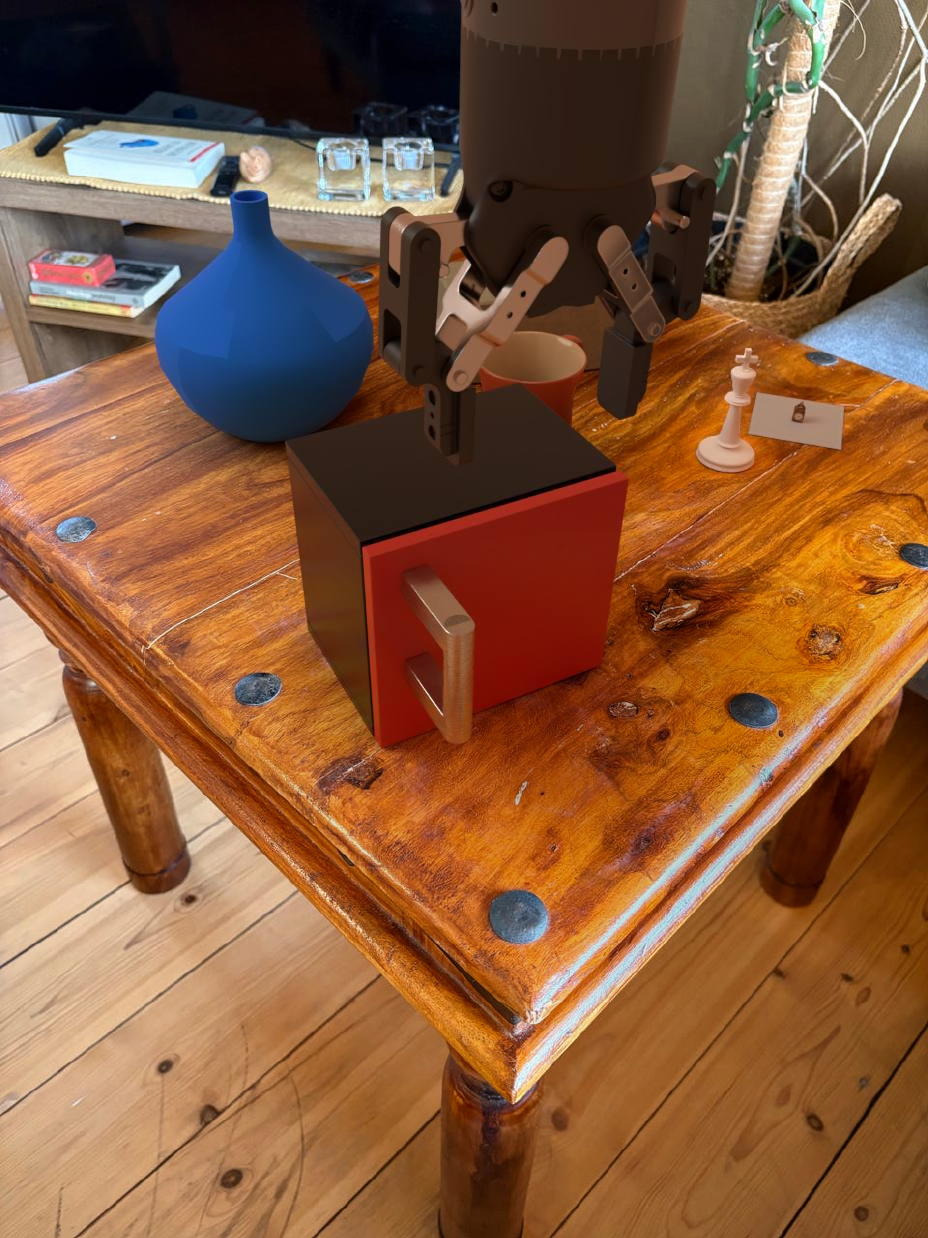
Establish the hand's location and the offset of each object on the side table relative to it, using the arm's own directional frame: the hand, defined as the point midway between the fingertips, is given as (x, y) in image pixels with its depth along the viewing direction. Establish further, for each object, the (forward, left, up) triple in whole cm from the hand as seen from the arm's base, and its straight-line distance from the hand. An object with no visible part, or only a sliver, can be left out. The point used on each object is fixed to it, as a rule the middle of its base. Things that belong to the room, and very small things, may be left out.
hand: (537, 432), depth 44 cm
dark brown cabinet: (-2, -11, -23) cm, 26 cm away
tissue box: (-29, -45, -23) cm, 58 cm away
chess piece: (-34, -21, -23) cm, 46 cm away
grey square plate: (-44, -23, -23) cm, 55 cm away
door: (-2, -2, -23) cm, 23 cm away
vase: (-2, -45, -23) cm, 51 cm away
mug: (-19, -28, -23) cm, 41 cm away
